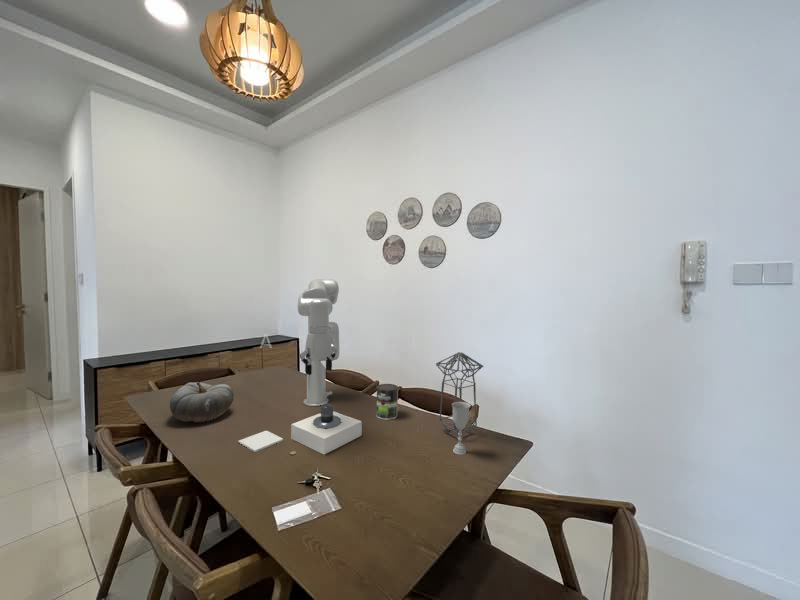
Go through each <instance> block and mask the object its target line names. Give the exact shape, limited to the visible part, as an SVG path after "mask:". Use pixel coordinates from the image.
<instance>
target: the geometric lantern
mask: <svg viewBox="0 0 800 600" xmlns="http://www.w3.org/2000/svg"><path fill="white" fill-rule="evenodd" d="M446 360H448V361H447V362H444V361H446ZM456 363H457V365H456V369H453V368H454V365H455V364H456ZM460 363H461V370H460ZM473 363H474V364H473ZM444 365H445V366H444ZM449 365H450V366H449ZM467 365H468V367H467ZM435 366H436V367H437V368H438V369H439V370H440V371H441V372H442V374H443V375H444V376H443V379H442V381H441V392H440V393H441V394H440V405H439V406H440V407H439V420H438V422H439V423H440V424H441V425H442V426H444V428H445V433H447V434H449V435H451V436H453V437H455V438H457V439H458V438H459V435H458V433H459V429H457V428H456V425H455V423H454V422H453V423H451V424H446V423H445V422H443V420H446V419H448V418H453V414H451V415H449V416H446V417H442V410H443V408H442V407H443V399H444V387H445V385H447V386H450V387H453V388H454V402H457V396H458V389H459V402H463V400H462V398H463V397H462V395H463V393H462V391H463V390H462V389H464V388H465V389H466V388H469V387H473V401H474V402H473V403H474V404H473V405H474V406H473V407H474V420H473V419H471V418H469V419H468V421H470V422H472V425H469V426H468V425H466V426H465V427H464V429H462V430H461V432H462V433H465V432H466V433H467V434H465V435H463V436H462V435H461V438H462V439H463V438H464V437H467V436H469V435H471V430H472V429H473V428H475V427H477V425H478V423H477V422H478V420H477V401H476V400H477V395H476V384H477V383H476V381H475V374H476V373H477V372H479V371H480V370H481V369H482V368H484V365H483V364H481V363H480V362H478V361H476V360H475V359H473V358H472V357H470V356H469V355H467V354H465V353H464V352H459V351H458V352H456V353H455V354H453V355H449V357H446V358H444V359H442V360H440V361H438V362H436V363H435ZM448 366H449V367H448ZM464 368H465V369H464ZM450 371H451V373H450ZM457 372H461V373H462V374H463V375H462V377H461V378H459V377H457V375H456V374H455V373H457ZM470 372H471V374H470ZM452 375H454V376H455V378H453V377H452ZM447 376H449V377H450V379H447V380H446V377H447ZM464 377H465V378H464ZM470 377H472V381H469V380H467V379H468V378H470ZM454 380H456V382H455V381H454ZM449 381H452V383H453V385H452V384H449V383H446V382H449ZM458 381H460V385H459V386H458V384H459V382H458ZM464 382H468V383H470V384H471V385H466V386H462V385H463V384H464ZM452 425H453V427H452ZM449 430H450V431H451V432H454V433H456V434H457V435H454V434H453V433H451V432H449Z"/></svg>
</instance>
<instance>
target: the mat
mask: <svg viewBox="0 0 800 600" xmlns="http://www.w3.org/2000/svg"><path fill="white" fill-rule="evenodd" d="M283 441H284V438H283V437H280V436H279V435H276V434H275V433H272V432H270V431H268V430H264V431H261V432H259V433H255V434H252V435H250V436H247V437H244V438H242V439H240V440H237V443H238V442H239V443H240V445H241V444H242V445H241V446H243V447H244V446H245V447H244V448H246V447H247V449H248V450H249V451H251V452H253V453H257V452H260V451H262V450H264V449H267V448H269V447H271V446H274V445H276V443H277V444H279V443H281V442H283ZM239 443H238V444H239Z"/></svg>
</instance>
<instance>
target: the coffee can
mask: <svg viewBox="0 0 800 600" xmlns="http://www.w3.org/2000/svg"><path fill="white" fill-rule="evenodd" d="M398 396H399V386H398V385H397V384H393V383H381V384H379V385H376V415H375V416H376V418H377V419H380V420H383V421H384V420H386V421H390V420H395V419H396V418H397V417H398V405H399V402H398V398H399V397H398Z"/></svg>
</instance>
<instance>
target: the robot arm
mask: <svg viewBox="0 0 800 600" xmlns="http://www.w3.org/2000/svg"><path fill="white" fill-rule="evenodd" d="M339 288H340V286H339V284H338V281H336V280H335V279H331V278H329V279H328V278H327V279H325V278H316V279H315V278H314V279H313V280H311V281H310V282H309V283H308V288H307V289H305V290H303V292H301V293H300V294H299V296H298V299H297V300H298V301H297V312H298V314H299V315H300V316H301V317H307V319H308V320H307V321H308V322H307V323H308V324H307V331H308V333H307V337H306V341H305V349H304V351H302V352H300V354H299V355H298V356H299V358H300V359H301V362H302V363H303V364H304V366H305V367H304V371H305V374H306V398H304V400H303V404H304V405H305V406H308V407H321V406H320V405H323V404H329V398H328V396H332V395H333V392H332V391H326V370H327V371H330V372H331V371H332V369H333V368H332V367H333V361H337V360H338V359H339V358H340V328H339V324H338V323H337V322H335V321H330V319H329V318H330V317H329V316H330V315H331V313H332V312H333V305H335V304H336V303H337V302H338V298H339V292H340V291H339ZM322 362H325V366H324V364H323V363H322Z"/></svg>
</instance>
